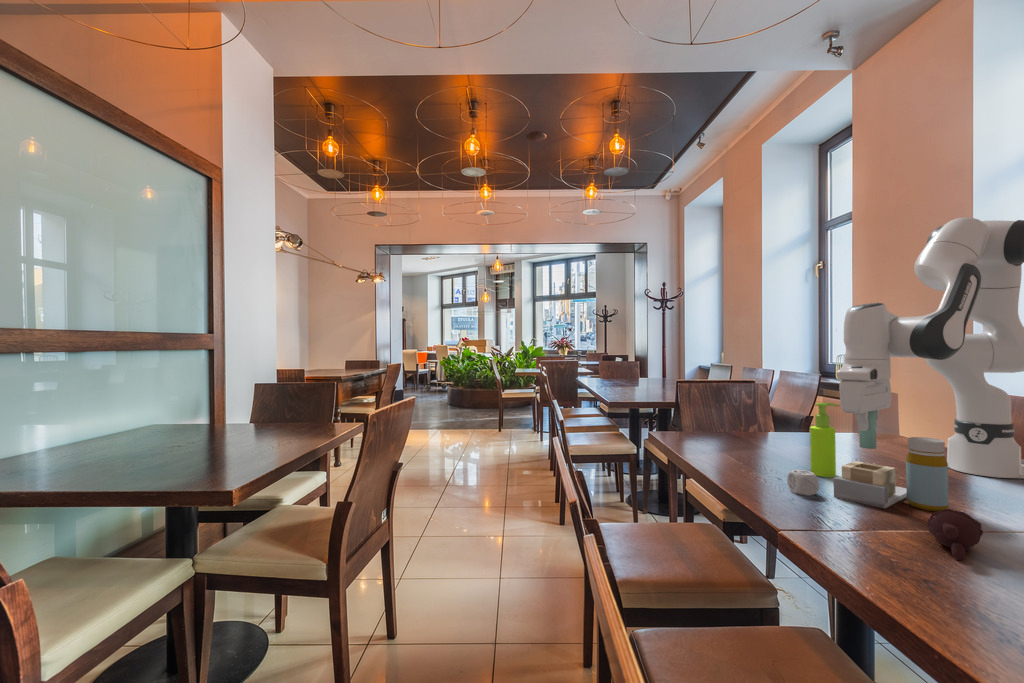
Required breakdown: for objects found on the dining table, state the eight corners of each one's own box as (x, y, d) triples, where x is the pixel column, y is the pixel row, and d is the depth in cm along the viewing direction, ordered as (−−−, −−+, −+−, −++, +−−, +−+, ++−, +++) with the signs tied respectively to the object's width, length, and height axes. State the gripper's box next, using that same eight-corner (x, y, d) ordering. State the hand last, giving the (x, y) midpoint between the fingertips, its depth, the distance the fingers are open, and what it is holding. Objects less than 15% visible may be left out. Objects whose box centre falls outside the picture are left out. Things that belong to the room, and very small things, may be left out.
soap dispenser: (844, 477, 129) (843, 404, 130) (819, 477, 129) (818, 404, 130) (830, 471, 135) (829, 401, 135) (806, 471, 135) (805, 401, 136)
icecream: (924, 496, 93) (917, 524, 82) (974, 495, 88) (974, 524, 77) (936, 532, 92) (931, 565, 82) (988, 533, 87) (990, 568, 76)
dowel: (878, 447, 112) (877, 409, 112) (874, 449, 110) (873, 410, 110) (861, 445, 114) (861, 408, 114) (857, 447, 112) (857, 409, 112)
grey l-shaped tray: (864, 483, 123) (863, 466, 123) (912, 493, 115) (912, 475, 115) (833, 497, 113) (833, 478, 113) (884, 508, 105) (884, 488, 105)
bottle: (956, 513, 101) (955, 443, 102) (919, 511, 103) (918, 442, 103) (934, 502, 108) (933, 437, 108) (899, 500, 110) (898, 436, 110)
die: (819, 495, 114) (819, 475, 114) (798, 495, 114) (797, 475, 114) (807, 489, 119) (807, 469, 119) (787, 489, 119) (786, 469, 119)
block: (855, 485, 118) (855, 461, 118) (895, 493, 111) (895, 467, 111) (842, 491, 113) (841, 466, 113) (882, 499, 107) (882, 473, 107)
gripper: (868, 369, 121) (869, 423, 121) (833, 372, 109) (834, 432, 109) (899, 370, 116) (900, 426, 115) (865, 373, 104) (866, 436, 104)
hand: (868, 429), depth 112 cm, fingers closed on dowel, 3 cm apart
